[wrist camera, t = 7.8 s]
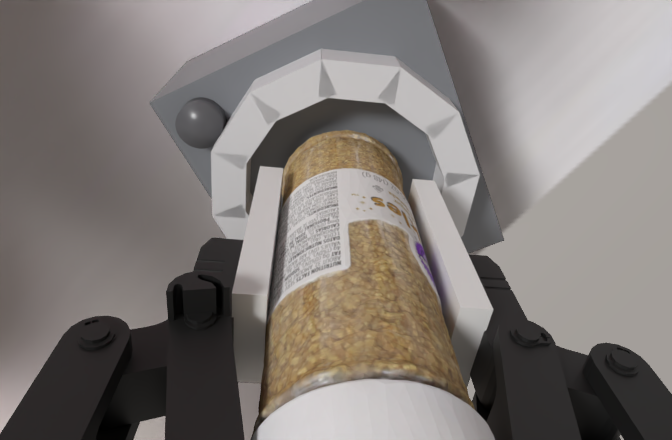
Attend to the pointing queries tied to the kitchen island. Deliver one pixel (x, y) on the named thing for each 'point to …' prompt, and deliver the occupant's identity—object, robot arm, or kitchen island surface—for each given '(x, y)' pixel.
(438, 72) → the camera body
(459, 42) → the kitchen island surface
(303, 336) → the sprinkles bottle
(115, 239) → the kitchen island surface
